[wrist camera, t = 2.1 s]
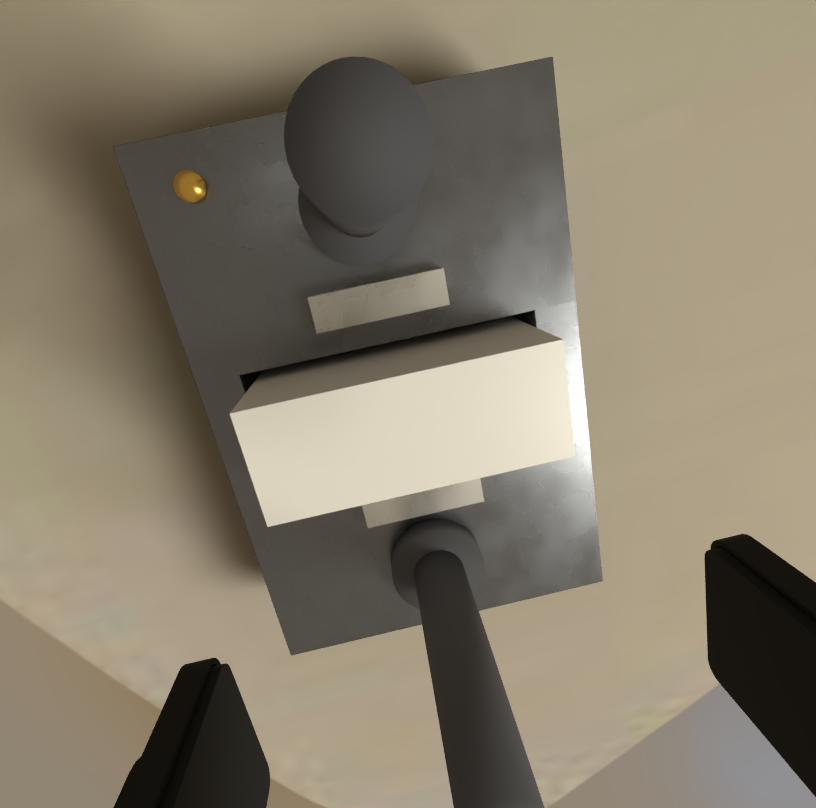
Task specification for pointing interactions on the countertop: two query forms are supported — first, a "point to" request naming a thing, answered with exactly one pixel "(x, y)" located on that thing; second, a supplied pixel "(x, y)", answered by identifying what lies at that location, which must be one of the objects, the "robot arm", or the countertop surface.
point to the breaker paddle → (404, 418)
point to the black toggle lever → (463, 667)
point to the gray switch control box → (379, 332)
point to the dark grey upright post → (358, 157)
